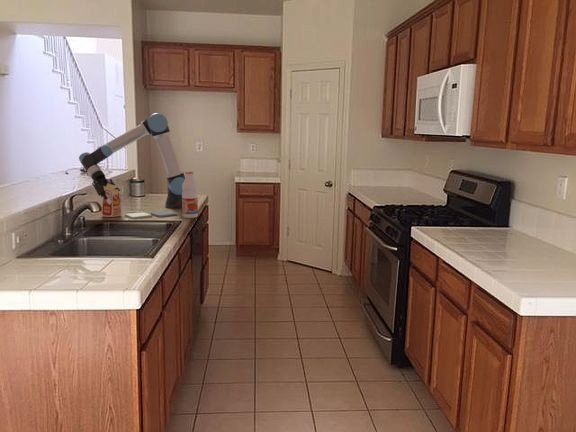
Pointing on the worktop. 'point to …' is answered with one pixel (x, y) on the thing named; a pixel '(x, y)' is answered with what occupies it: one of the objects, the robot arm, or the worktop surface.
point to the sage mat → (138, 215)
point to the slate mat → (163, 214)
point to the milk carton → (115, 206)
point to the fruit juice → (189, 196)
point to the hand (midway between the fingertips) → (116, 202)
